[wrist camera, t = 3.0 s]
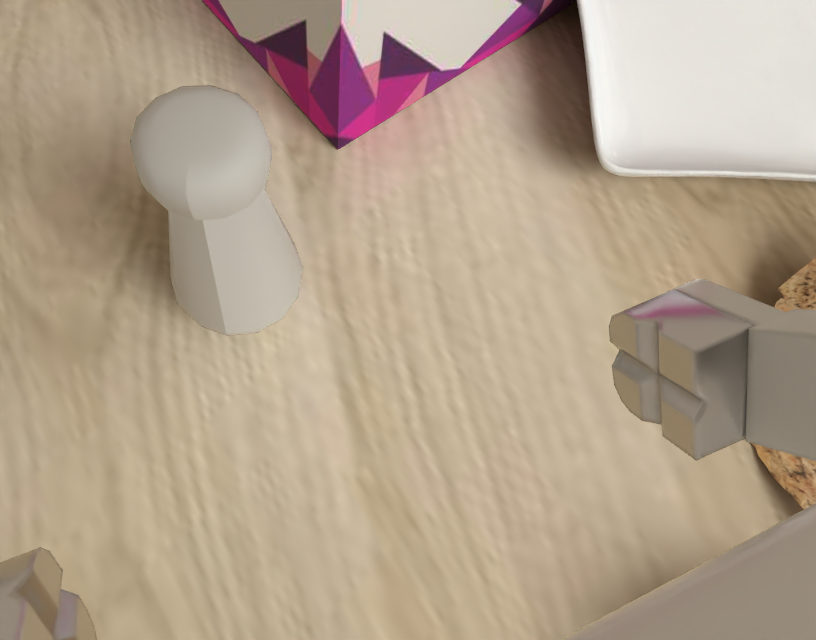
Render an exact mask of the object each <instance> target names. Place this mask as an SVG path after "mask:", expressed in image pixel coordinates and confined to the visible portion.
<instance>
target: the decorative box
mask: <svg viewBox="0 0 816 640" xmlns="http://www.w3.org/2000/svg"><path fill="white" fill-rule="evenodd" d="M202 1H203V2H204V3H205V4H206V5H207V6H208V7H209V8H210V10H211V11H212V12H213V13H214V14H215V15H216V16H217V17H218V18H219V19H220V21H221V22H222V23H223V24H224V25H225V26H226V27H227V28H228V29H229V30H230V32H231V33H232V34H233V35H234V36H235V37H236V38H237V39H238V40H239V42H240V43H241V44H242V45H243V46H244V47H245V48H246V49H247V50H248V51H249V53H250V54H251V55H252V56H253V57H254V58H255V59H256V60H257V61H258V62H259V64H260V65H261V66H262V67H263V68H264V69H265V70H266V71H267V72H268V74H269V75H270V76H271V77H272V78H273V79H274V80H275V81H276V82H277V83H278V85H279V86H280V87H281V88H282V89H283V90H284V91H285V92H286V93H287V94H288V96H289V97H290V98H291V99H292V100H293V101H294V102H295V103H296V104H297V106H298V107H299V108H300V109H301V110H302V111H303V112H304V113H305V114H306V115H307V117H308V118H309V119H310V120H311V121H312V122H313V123H314V124H315V125H316V127H317V128H318V129H319V130H320V131H321V132H322V133H323V134H324V135H325V136H326V138H327V139H328V140H329V141H330V142H331V143H332V144H333V145H334V146H335V147H336V149H337V150H338V149H340V148H341V147H343V146H345V145H346V144H348V143H349V142H351V141H353V140H354V139H356V138H358V137H359V136H361V135H362V134H364V133H366V132H367V131H369V130H370V129H372V128H374V127H375V126H377V125H378V124H380V123H382V122H383V121H385V120H387V119H388V118H390V117H391V116H393V115H395V114H396V113H398V112H399V111H401V110H403V109H404V108H406V107H408V106H409V105H411V104H412V103H414V102H416V101H417V100H419V99H420V98H422V97H424V96H425V95H427V94H428V93H430V92H432V91H433V90H435V89H437V88H438V87H440V86H441V85H443V84H445V83H446V82H448V81H449V80H451V79H453V78H454V77H456V76H458V75H459V74H461V73H462V72H464V71H466V70H467V69H469V68H470V67H472V66H474V65H475V64H477V63H478V62H480V61H482V60H483V59H485V58H487V57H488V56H490V55H491V54H493V53H495V52H496V51H498V50H499V49H501V48H503V47H504V46H506V45H508V44H509V43H511V42H512V41H514V40H516V39H517V38H519V37H520V36H522V35H524V34H525V33H527V32H528V31H530V30H532V29H533V28H535V27H537V26H538V25H540V24H541V23H543V22H545V21H546V20H548V19H549V18H551V17H553V16H554V15H556V14H558V13H559V12H561V11H562V10H564V9H566V8H567V7H569V6H570V5H571V3H572V1H573V0H202Z"/></svg>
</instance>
